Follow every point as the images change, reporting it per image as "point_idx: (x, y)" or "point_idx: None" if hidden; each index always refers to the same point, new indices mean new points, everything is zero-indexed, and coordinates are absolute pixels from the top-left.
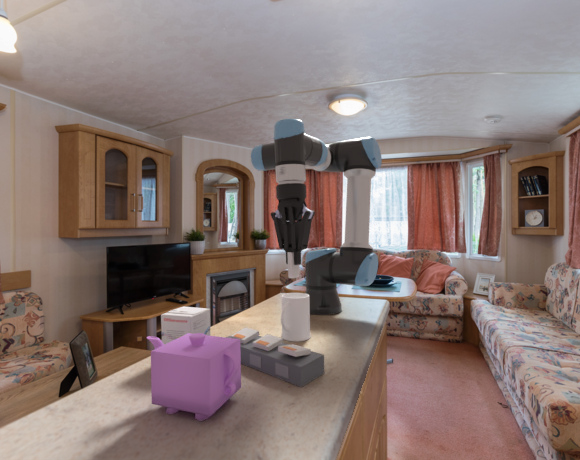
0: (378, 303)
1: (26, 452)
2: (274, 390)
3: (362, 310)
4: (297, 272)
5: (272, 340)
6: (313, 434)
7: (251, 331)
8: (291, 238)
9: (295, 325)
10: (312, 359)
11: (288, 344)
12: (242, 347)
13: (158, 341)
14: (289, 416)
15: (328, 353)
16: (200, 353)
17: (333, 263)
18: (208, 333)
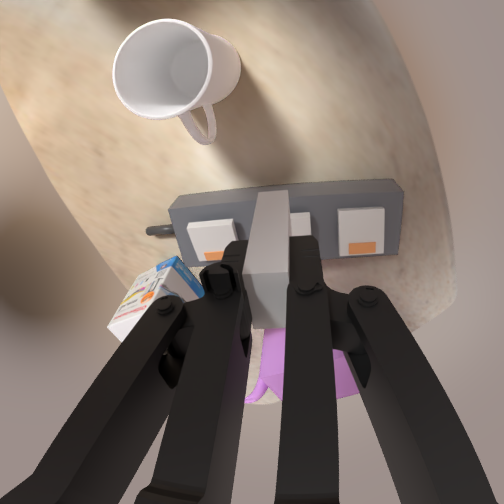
0: None
1: (276, 401)
2: (363, 265)
3: None
4: (289, 216)
5: (297, 235)
6: (443, 291)
7: (219, 233)
8: (233, 379)
9: (220, 94)
10: (397, 221)
11: (311, 196)
12: None
13: (260, 397)
14: (411, 288)
15: (342, 95)
16: (341, 392)
17: None
18: (169, 285)
